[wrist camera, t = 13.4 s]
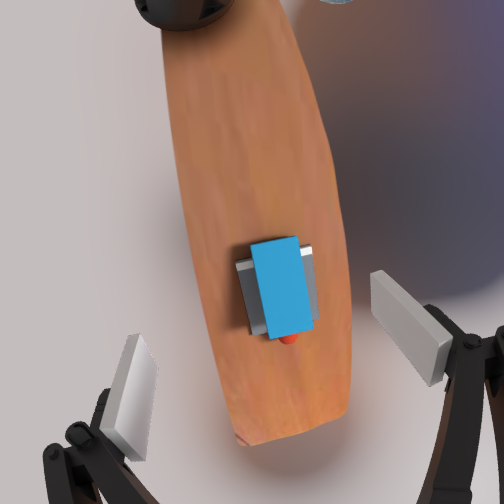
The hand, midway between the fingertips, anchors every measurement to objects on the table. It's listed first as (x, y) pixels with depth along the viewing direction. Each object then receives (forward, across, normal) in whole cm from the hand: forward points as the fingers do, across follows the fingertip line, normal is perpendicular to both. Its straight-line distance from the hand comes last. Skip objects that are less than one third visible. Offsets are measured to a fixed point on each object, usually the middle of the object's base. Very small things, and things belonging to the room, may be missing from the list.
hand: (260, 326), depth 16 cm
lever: (+29, +4, -15) cm, 33 cm away
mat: (+30, +4, -16) cm, 34 cm away
